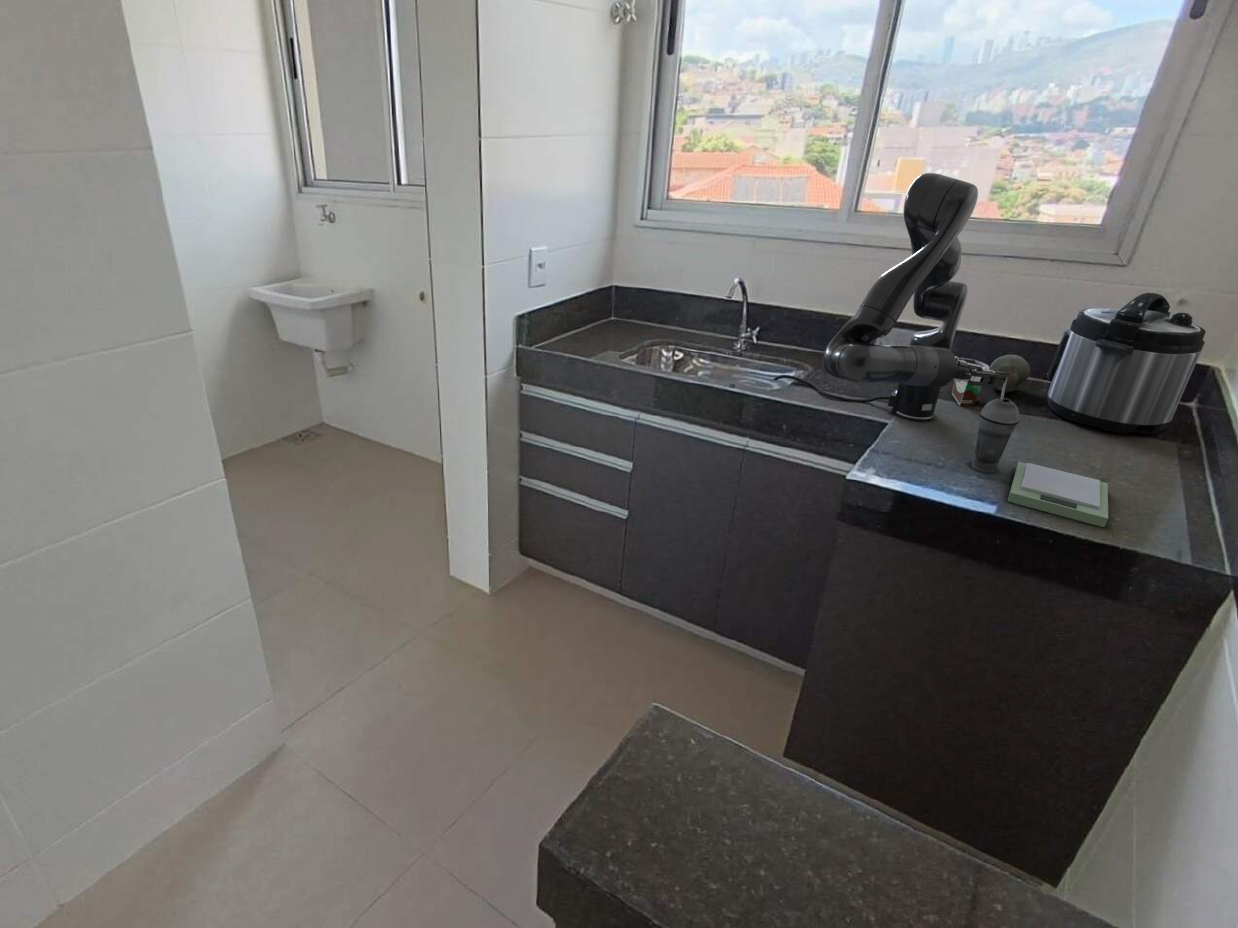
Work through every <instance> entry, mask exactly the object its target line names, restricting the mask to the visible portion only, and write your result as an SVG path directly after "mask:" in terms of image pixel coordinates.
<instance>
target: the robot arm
mask: <svg viewBox="0 0 1238 928" xmlns="http://www.w3.org/2000/svg"><path fill="white" fill-rule="evenodd" d="M978 197H979V189H978V187H977V186H976V185H975V184H973V183H972V182H968V181H965V180H962V179H957V178H954V177H951V176H947V175H944V174H941V173H936V172H925V173H921V174H920V175H919V176H917V177H916V178H915V179H914V180H913V182H912V183H911V184H910V185H909V187H908V190H907V192H906V194H905V198H904V204H903V222H904V225H905V227H906V231H907V234H908V237H909V240H910V241H909V242H910V248H911V256H909V257H907V258H905V259H904V260H903V261H901V262H899V263H898V264H896V265H894V266H892V267H891V268H890V269H888V270H887V271H885V272H884V273H883V274H881V275H880V276H879V277H878V278H876V280H875V281H874V283H873V284H872V285H871V287H870V288H869V290H868V291H867V293H866V295H865V296H864V298H863V300H862V302H861V303H860V305H859V307H858V309H857V310H856V312H855V314H854V315H853V316H852V317H851V318H850V319H849V320H848V321H846V323H845V324H844V325H843V326H842V328H840V330H838V332H837V333H836V334H835V335H834V336H833V338H832V339H831V340H830V341H829V343H828V345H827V346H826V348H825V351H824V353H823V359H822V364H823V368H824V370H825V372H826V374H829V375H830V376H832V377H835V378H839V379H842V380H846V381H849V382H854V383H862V384H863V383H864V384H867V383H868V384H870V383H872V384H873V383H881V382H883V383H887V384H888V383H891V384H892V383H893V384H898V386H897V389H894V390H893V392H891V394H890V395H878V396H877V395H876V396H873V397H871V398H849V397H844V396H841V395H840V396H839V395H835V394H831V393H829V392H826V391H824V390H823V389H822V388H820V387H819V386H818V385H817V384H815V383H814V382H811V381H808V380H806V379H803V378H800V377H797V376H795V375H791V374H781V375H778V376H776V377H774V378H773V379H772V380H773V381H778V380H780V379H789V380H790V379H791V380H794V381H797V382H798V383H799V382H800V383H802V384H806V385H808V386H810V387H812V388H813V389H815V390H816V391H817V392H818V393H820V394H821V395H823V396H825V397H828V398H831V399H834V400H837V401H838V400H839V401H843V402H849V403H850V402H851V403H872V402H874V401H880V400H888V403H887V407H890V408H892V411H891V413H892V414H895V415H897V416H900V417H902V418H904V419H908V420H911V421H912V420H913V421H930V420H932V419H933V418H934V415H935V411H936V406H937V403H938V400H939V396H940V393H941V390H942V389H941V388H942V387H945V386H946V385H948V384H949V383H951V382H952V381H953V382H955V381H957V382H961V381H963V382H968V383H967V384H969V385H976V386H982V387H988V388H994V387H995V386H996V383H998V384H1004V383H1005V382H1006V379H1007V377H1008V373H1006V372H1000V371H993V370H986V369H982V367H981V366H980V365H975V360H976V359H972V358H968V359H961V358H962V357H958V356H955V354H954V353H953V352H952V348H953V344H954V340H955V336H956V332H957V329H958V326H959V322H960V320H961V317H962V313H963V311H964V307H965V304H966V302H967V298H968V292H969V289H968V286H967V283H965V282H961V281H956V280H952V279H953V278H955V276H956V275H957V273H959V270H960V267H961V263H962V244H961V241H960V239H959V237H958V236H959V235H960V234H961V232H962V231H963V229H964V228H965V226H966V225H967V223H968V222H969V220H970V218H971V216H972V214H973V213H974V210H975V208H976V205H977V202H978ZM912 297H913V304H912V305H913V306H912V308H913V312H914V314H915V315H916V316H917V317H919V318H922V319H925V320H926V319H927V320H932V321H939V322H942V325H940V326H938V327H936V328H933V329H928V330H920V331H917V332H915V333H913V334H912V336H911V338H910V341H909V345H899V344H883V345H881V344H874V343H872V341H874V340H876V339H880V338H885V337H887V336H888V335H889V334H890V333H891V332H892V330H893V328H894V327H895V325H896V323H897V322H898V320H899V318H900V317H901V316H902V314H903V312H904V310H905V308H906V306H908V303H909V302H910V300H911V299H912ZM973 368H976V371H972V370H973Z"/></svg>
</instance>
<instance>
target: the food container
mask: <svg viewBox="0 0 1238 928" xmlns="http://www.w3.org/2000/svg"><path fill="white" fill-rule="evenodd" d="M960 358H961V359H969V358H968V357H960ZM974 360H975V365H980V366H981V367H982V369H986V370H989V367H990V365H988V364H986V363H985V362H982V361H979V360H976V359H974ZM972 371H976V368H973V370H972ZM967 383H968V382H963V381H961V382H957V381H953V386H952V390H951V395H952V397H953V398H954V400H955V401H956V402H957V404H958V406H960V407H971V406H974V405H976V404H977V401H978V400H979V399H978V398H979V397H980V394H981V391H982V388H983V386H976V385H969V384H967Z"/></svg>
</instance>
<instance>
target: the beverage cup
mask: <svg viewBox="0 0 1238 928" xmlns="http://www.w3.org/2000/svg"><path fill="white" fill-rule="evenodd" d="M1006 382H1007V379H1006ZM1006 382H1005V383H1004V384H1003V388H1002V391H1001V392H1000V398H995V399H992V400H990V401H988V402H987V403H986V404H985V405H984V406H983V408H982V409H981V411H980V413H979V418H978V419H979V420H978V430H977V435H976V438H975V439H976V440H975V444H974V448H973V454H972V462H971V467H972V468H973V469H974V470H975V471H978V472H983V473H986V474H987V473H989V474H990V473H991V474H992V473H994V472H995V470H996V468H997V466H998V464H999V463H1000V460H1001V458H1002V456H1003V454H1004V451H1005V450H1006V447H1007V445H1008V442H1009V440H1010V437H1011V435H1012V433H1013V432H1014V430H1015V429H1016V427H1017V425H1019V422H1020V420H1019V419H1020V411H1019V409H1018V406H1017V404H1016V403H1014V402H1013V401H1012V400H1011V399H1008V398H1004V397H1005V393H1006V392H1005V387H1006Z"/></svg>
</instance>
